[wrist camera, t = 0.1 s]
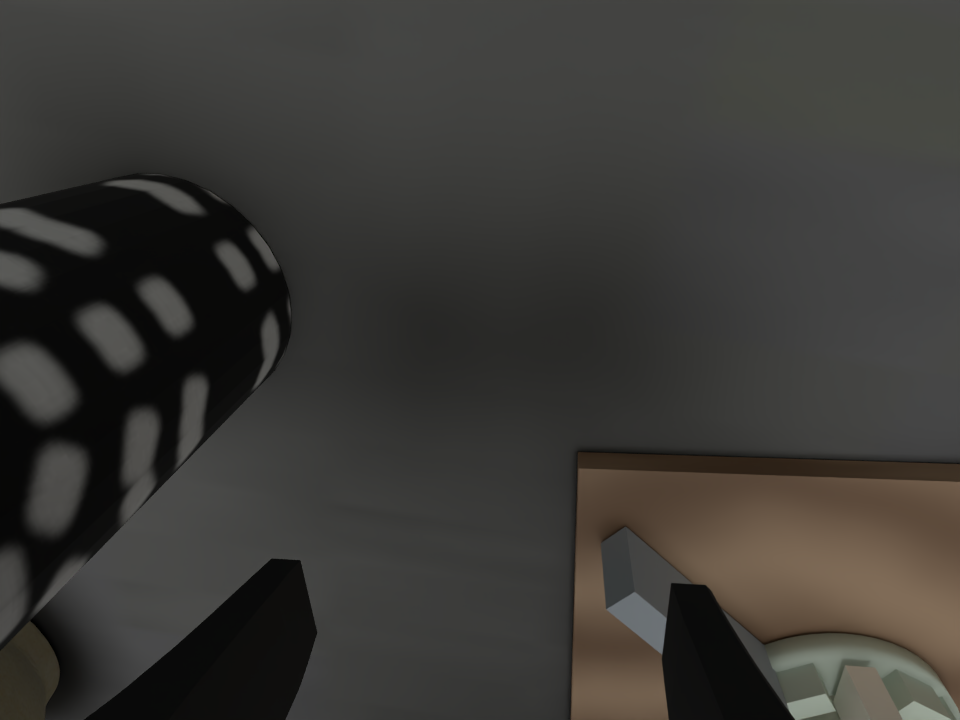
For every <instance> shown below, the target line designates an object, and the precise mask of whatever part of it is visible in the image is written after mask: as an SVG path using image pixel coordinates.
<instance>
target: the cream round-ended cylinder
mask: <svg viewBox="0 0 960 720" xmlns="http://www.w3.org/2000/svg"><path fill="white" fill-rule="evenodd" d="M829 696H830V698H831V701H832V703H833V705H834V708H835V710H836V711H834V712H830V713H826V714H821V715H817V716H813V717H809V718H804V719H800V720H903V719H902V717H901V715H900V713H899V712H898V710H897V708H896V706H895V704H894V702H893V700H892V698H891V696H890V695H889V693H888V691H887V689H886V687H885V685H884V683H883V681H882V679H881V677H880V676H879V674H878V672H877V670H876V668H874V667H860V666H847V665H845V667H844V670H843V673H842V676H841V679H840V682H839V685H838V688H837V692H836V695H829Z"/></svg>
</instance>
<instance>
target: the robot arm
mask: <svg viewBox="0 0 960 720" xmlns="http://www.w3.org/2000/svg"><path fill="white" fill-rule="evenodd" d="M316 635H317V630H316V626H315V621H314V617H313V613H312V608H311V604H310V600H309V596H308V591H307V587H306V583H305V578H304V574H303V570H302V565H301V561H300V560H287V559H271V560H270V561H269V562H268V563H266V564H265V565H264V566H263V567H262V568H261V569H260V570H259V571H258V572H256V573H255V574H254V575H253V576H252V577H251V578H250V579H249V580H248V581H247V582H246V583H245V584H243V585H242V586H241V587H240V588H239V589H238V590H237V591H236V592H235V593H234V594H233V595H232V596H230V597H229V598H228V599H227V600H226V601H225V602H224V603H223V604H222V605H221V606H220V607H219V608H217V609H216V610H215V611H214V612H213V613H212V614H211V615H210V616H209V617H208V618H207V619H205V620H204V621H203V622H202V623H201V624H200V625H199V626H198V627H197V628H195V629H194V630H193V631H192V632H191V633H190V634H189V635H188V636H186V637H185V638H184V639H183V640H182V641H181V642H180V643H179V644H178V645H176V646H175V647H174V648H173V649H172V650H171V651H169V652H168V653H167V654H166V655H165V656H163V657H162V658H161V659H160V660H159V661H157V662H156V663H155V664H154V665H153V666H151V667H150V668H149V669H148V670H147V671H145V672H144V673H143V674H142V675H141V676H139V677H138V678H137V679H136V680H135V681H133V682H132V683H131V684H130V685H129V686H127V687H126V688H125V689H124V690H122V691H121V692H120V693H119V694H117V695H116V696H115V697H114V698H112V699H111V700H110V701H108V702H107V703H106V704H104V705H103V706H102V707H100V708H99V709H98V710H97V711H95V712H94V713H92V714H91V715H90V716H88V717H87V718H86V719H84V720H285V719H286V717H287V715H288V712H289V710H290V708H291V706H292V703H293V701H294V699H295V697H296V694H297V692H298V690H299V687H300V685H301V682H302V679H303V676H304V673H305V670H306V667H307V664H308V661H309V658H310V654H311V651H312V648H313V645H314V641H315V638H316ZM662 667H663V676H664V685H665V693H666V701H667V709H668V717H669V720H795V719H794V717H793V716H792V715H791V713H790V712H789V710H788V709H787V708H786V706H785V705H784V703H783V702H782V701H781V699H780V698H779V696H778V695H777V693H776V692H775V691H774V689H773V688H772V686H771V685H770V683H769V682H768V681H767V679H766V678H765V676H764V675H763V673H762V672H761V670H760V669H759V667H758V666H757V664H756V663H755V661H754V660H753V658H752V657H751V655H750V654H749V652H748V651H747V649H746V648H745V646H744V644H743V643H742V641H741V640H740V638H739V637H738V635H737V633H736V632H735V630H734V629H733V627H732V625H731V624H730V622H729V620H728V619H727V617H726V615H725V614H724V612H723V610H722V609H721V607H720V605H719V603H718V602H717V600H716V598H715V596H714V595H713V593H712V591H711V590H710V589H709V588H708V587H707V586H706V585H698V584H682V583H671V588H670V596H669V604H668V612H667V620H666V628H665V636H664V644H663V652H662Z"/></svg>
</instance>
